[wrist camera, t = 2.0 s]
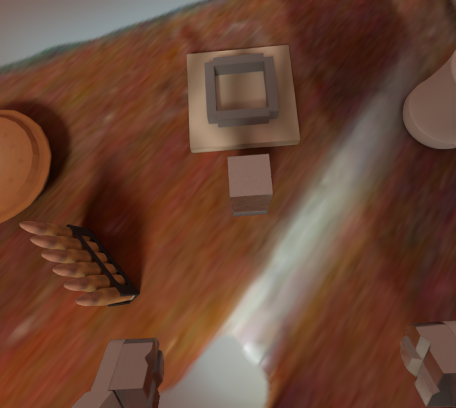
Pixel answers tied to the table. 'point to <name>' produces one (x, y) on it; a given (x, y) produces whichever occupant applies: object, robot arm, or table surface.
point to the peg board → (241, 99)
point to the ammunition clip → (83, 263)
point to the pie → (21, 162)
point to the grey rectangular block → (250, 184)
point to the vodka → (434, 108)
